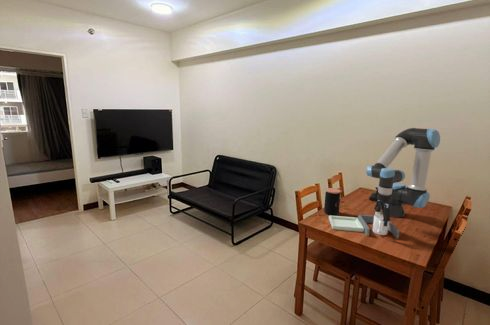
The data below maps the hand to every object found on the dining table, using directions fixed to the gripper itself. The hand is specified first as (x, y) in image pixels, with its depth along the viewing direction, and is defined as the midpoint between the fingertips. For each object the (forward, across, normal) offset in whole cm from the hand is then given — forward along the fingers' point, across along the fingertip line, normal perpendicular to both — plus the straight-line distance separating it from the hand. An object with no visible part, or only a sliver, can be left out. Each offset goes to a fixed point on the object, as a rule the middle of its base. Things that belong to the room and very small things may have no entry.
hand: (380, 225), depth 165 cm
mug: (+5, 0, 0) cm, 5 cm away
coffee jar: (+5, -29, -25) cm, 38 cm away
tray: (+5, -9, -19) cm, 21 cm away
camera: (+5, -67, +23) cm, 71 cm away
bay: (+5, -6, 0) cm, 8 cm away
